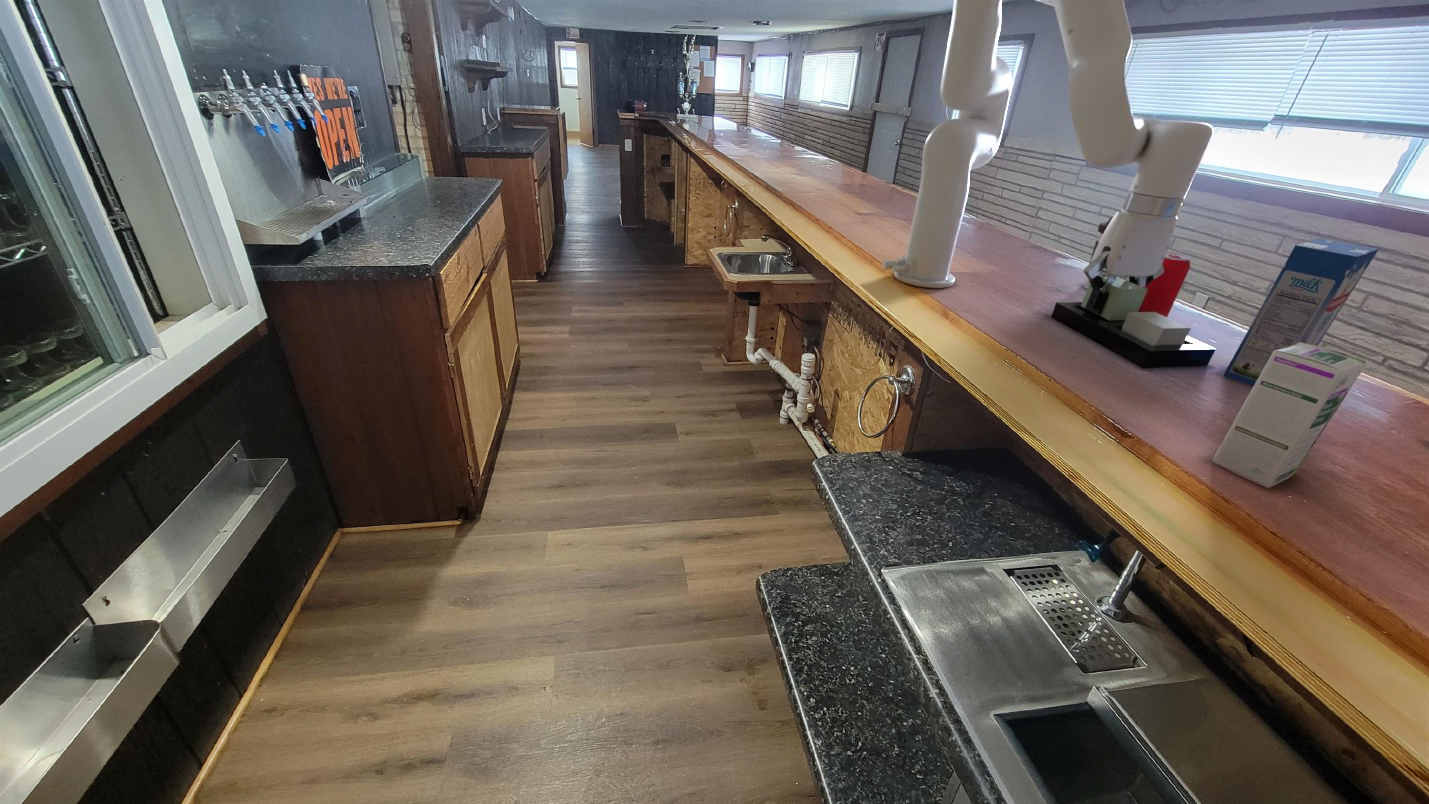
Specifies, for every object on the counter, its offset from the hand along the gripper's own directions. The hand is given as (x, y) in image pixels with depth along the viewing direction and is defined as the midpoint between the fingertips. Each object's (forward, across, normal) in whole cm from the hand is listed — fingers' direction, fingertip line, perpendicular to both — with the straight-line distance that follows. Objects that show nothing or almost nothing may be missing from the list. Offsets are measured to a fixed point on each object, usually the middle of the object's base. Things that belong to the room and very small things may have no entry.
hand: (1107, 310), depth 100 cm
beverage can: (+4, -14, -5) cm, 15 cm away
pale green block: (0, 0, 0) cm, 0 cm away
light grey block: (+3, 0, +10) cm, 11 cm away
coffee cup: (+4, -18, -21) cm, 28 cm away
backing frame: (+3, 0, +5) cm, 6 cm away
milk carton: (+3, -11, +20) cm, 23 cm away
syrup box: (+3, +15, +41) cm, 44 cm away
